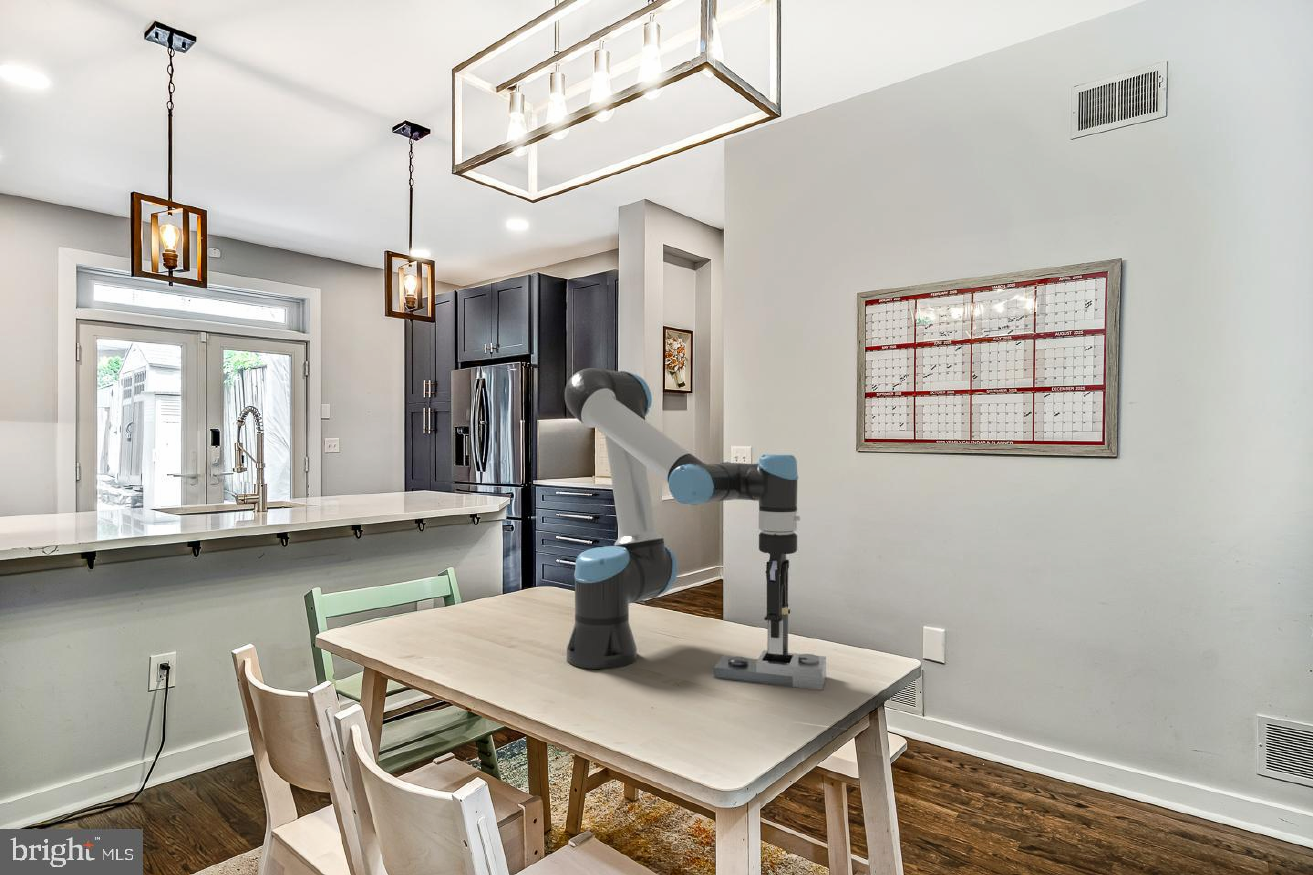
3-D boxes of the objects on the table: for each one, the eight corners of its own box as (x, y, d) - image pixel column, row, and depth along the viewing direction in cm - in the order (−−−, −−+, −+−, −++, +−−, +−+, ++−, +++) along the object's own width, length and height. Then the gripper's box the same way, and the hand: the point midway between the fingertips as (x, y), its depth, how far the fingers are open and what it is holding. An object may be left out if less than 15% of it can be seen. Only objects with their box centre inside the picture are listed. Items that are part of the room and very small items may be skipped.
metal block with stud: (713, 677, 135) (713, 653, 135) (723, 664, 143) (723, 642, 143) (822, 690, 129) (822, 664, 129) (826, 676, 136) (826, 652, 136)
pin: (765, 675, 134) (766, 609, 134) (769, 669, 138) (769, 604, 138) (786, 677, 133) (786, 611, 133) (789, 671, 137) (789, 606, 137)
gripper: (791, 538, 126) (790, 665, 126) (802, 527, 142) (802, 640, 142) (750, 536, 129) (750, 660, 129) (766, 526, 145) (766, 636, 145)
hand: (777, 649), depth 135 cm, fingers closed on pin, 4 cm apart
